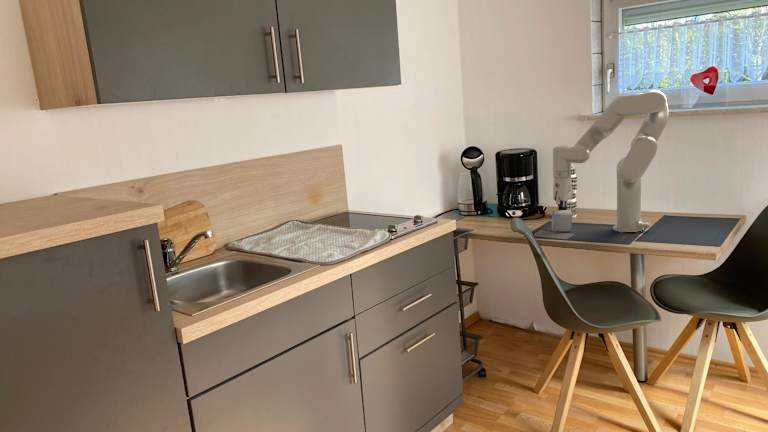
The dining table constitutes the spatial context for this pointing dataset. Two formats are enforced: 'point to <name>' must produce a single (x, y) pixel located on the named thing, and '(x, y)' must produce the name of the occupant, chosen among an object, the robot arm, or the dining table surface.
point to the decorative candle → (573, 194)
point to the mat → (553, 235)
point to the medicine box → (561, 220)
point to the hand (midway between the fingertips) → (562, 215)
